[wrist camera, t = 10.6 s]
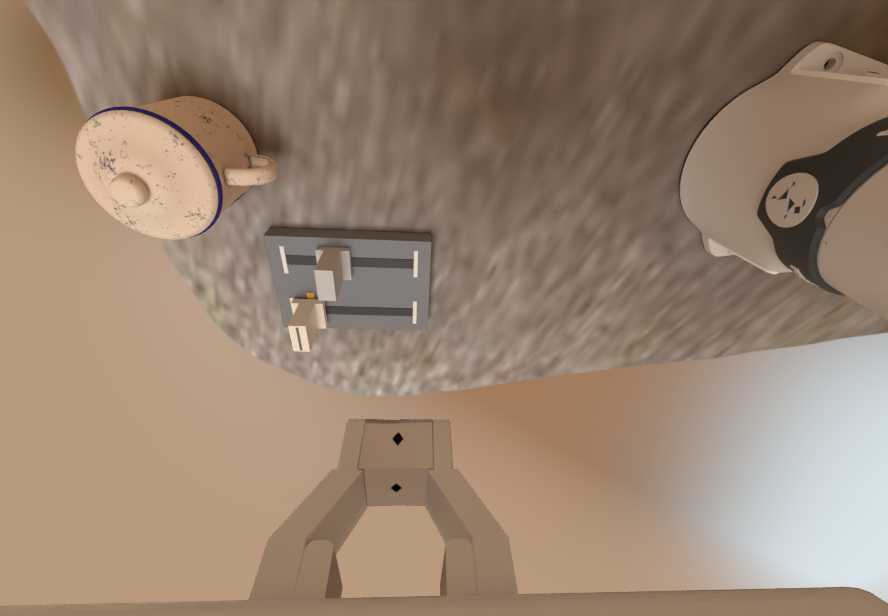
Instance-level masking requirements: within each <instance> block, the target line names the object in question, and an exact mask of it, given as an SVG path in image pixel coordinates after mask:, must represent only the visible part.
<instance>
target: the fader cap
mask: <svg viewBox="0 0 888 616" xmlns="http://www.w3.org/2000/svg"><path fill="white" fill-rule="evenodd" d="M291 305H292V310H293V317H292V319H291V321H290V323H289V325H288V328H289V332H290V337H291V341H292V346H293V351H310V350H311V347H312V345H313V342H314V339H315V337H316V334H317V331H318V329H319V328H326V327H327V324H328V322H327V315H326V308H325V301H319V300H318V299H293V300H292V302H291Z"/></svg>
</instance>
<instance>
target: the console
mask: <svg viewBox="0 0 888 616" xmlns="http://www.w3.org/2000/svg"><path fill="white" fill-rule="evenodd" d="M264 240H265V244H266V249H267V253H268V258H269V262H270V267H271V271H272V276H273V280H274V284H275V289H276V293H277V298H278V302H279V307H280V311H281V315H282V320H283V324H284V327H288V325H289V323H290V321H291V319H292V317H293V310H292V305H291V302H292V300H293V299H318V300H319V301H325V308H326V315H327V322H328V324H327V327H326V328H349V329H392V330H428V310H429V288H430V265H431V243H432V241H431V233H405V232H380V231H355V230H330V229H304V228H279V227H270V228H269V230H268V231H267V232H266V233H265V234H264Z"/></svg>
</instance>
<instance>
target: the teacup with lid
mask: <svg viewBox="0 0 888 616" xmlns="http://www.w3.org/2000/svg"><path fill="white" fill-rule="evenodd" d="M75 152H76V153H75V155H76V162H77V167H78V170H79V173H80V175H81V178H82V180H83V182H84V184H85V185H86V187H87V188H88V190H89V192H90V193H91V194H92V196H93V197H94V198H95V200H96V201H97V202H98V203H99V204H100V205H101V206H102V207H103V208H104V209H105V210H106V211H107V212H108V213H109V214H111V215H112V216H113V217H114V218H116V219H117V220H118V221H120V222H122V223H123V224H125V225H126V226H128V227H130V228H132V229H134V230H136V231H138V232H140V233H143V234H146V235H149V236H153V237H157V238H162V239H185V238H190V237H194V236H197V235H199V234H202V233H203V232H205V231H207V230H208V229H209V228H210V227H211V226H212V225H213V224H214V223H215V222H216V220H217V219H218V217H219V215H220V214H221V213H222V212H224V211H225V210H226V209H227V208H228V207H230V206H231V205H232V204H233V203H234V202H235V201H237V200H238V199H239V198H240V197H241V196H242V195H244V194H245V193H246V192H247V191H248V190H249V189H250V188H251V187H252V186H256V185H263V184H267V183H270V182H272V181H274V180H275V179H276V178H277V177H278V175H279V169H278V165H277V163H276V161H274V160H273V159H272V158H269V157H266V156H262V155H257V151H256V148H255V145H254V142H253V140H252V138H251V136H250V134H249V133H248V131H247V130H246V128H245V127H244V126H243V124H242V123H241V122H240V121H239V120H238V119H237V118H236V117H235V116H234V115H233V114H232V113H230V112H229V111H228V110H226V109H225V108H224V107H222V106H220V105H219V104H217V103H215V102H213V101H210V100H207V99H204V98H200V97H195V96H181V97H176V98H172V99H167V100H163V101H159V102H155V103H150V104H146V105H142V106H137V107H113V108H108V109H105V110H102V111H100V112H98V113H96V114H95V115H93V116H92V117H90V119H89V120H88V121H87V122H86V123H85V124H84V126H83V127H82V129H81V130H80V132H79V134H78V137H77V141H76V150H75Z"/></svg>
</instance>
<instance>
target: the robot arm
mask: <svg viewBox="0 0 888 616" xmlns="http://www.w3.org/2000/svg"><path fill="white" fill-rule="evenodd" d="M827 60H828V63H827V65H826V66H825V68H824V65H825V63H826V62H827ZM680 198H681V204H682V207H683V210H684V212H685V214H686V216H687V217H688V219H689V220H690V221H691V222H692V223H693V224H694V225H695V226H696V227H697V228H698V229H699V230H700V232H701V234H702V240H703V244H704V248H705V250H706V251H707V252H708V253H710V254H712V255H714V256H717V257H719V256H728V255H737V256H738V257H740V258H742V259H744V260H746V261H747V262H749V263H751V264H753V265H754V266H756V267H758V268H760V269H762V270H764V271H765V272H768V273H771V274H778V273H779V272H794V273H796V274H797V275H798V276H799V277H800V278H802V279H803V280H805V281H807V282H808V283H810V284H812V285H815V286H817V287H821V288H822V289H824V290H826V291H828V292H831V293H834V294H838V295H845V296H848V297H849V298H851V299H853V300H854V301H856V302H858V303H859V304H861V305H862V306H864V307H866V308H867V309H869V310H871V311H872V312H874V313H876V314H877V315H879V316H880V317H882V318H884V319H885V320H887V321H888V65H887V64H884V63H881V62H879V61H876V60H874V59H871V58H868V57H866V56H863V55H861V54H858V53H855V52H853V51H850V50H848V49H845V48H843V47H840V46H837V45H835V44H832V43H827V42H821V41H818V42H814V43H811V44H810V45H808V46H807V47H805V48H804V49H803V50H801V51H800V52H799V53H798V54H797V55H796V56H795V57H793V58H792V59H791V60H790V61H789V62H788V63H787V64H786V65H785V66H784V67H783V68H782V69H781V70H780V71H779V72H778V73H777V74H775V75H774V76H772V77H771V78H769V79H767V80H766V81H764V82H762V83H760V84H758V85H756V86H755V87H753V88H751V89H749V90H748V91H746V92H744V93H743V94H741V95H740V96H738V97H737V98H736V99H734V100H733V101H732V102H730V103H729V104H728V105H727V106H726V107H725V108H723V109H722V110H721V111H720V112H719V113H718V114H717V115H716V116H715V117H714V118H713V119H712V121H711V122H710V123H709V124H708V125H707V126H706V128H705V129H704V130H703V132H702V133H701V134H700V136H699V137H698V139H697V140H696V142H695V144H694V145H693V147H692V149H691V151H690V153H689V155H688V158H687V160H686V163H685V165H684V168H683V172H682V176H681V182H680ZM450 429H451V428H450V422H449V420H432V419H406V420H403V419H401V420H378V419H349V420H348V422H347V425H346V430H345V435H344V440H343V444H342V449H341V454H340V459H339V463H338V468H337V470H331V471H330V472H329V474H328V475H327V476H326V477H325V478H324V479H323V480H322V481H321V482H320V483H319V485H318V486H317V487H316V488H315V489H314V490H313V491H312V492H311V493H310V494H309V495H308V497H306V499H305V500H304V501H303V502H302V503H301V504H300V505H299V506H298V507H297V509H295V511H294V512H293V513H292V514H291V515H290V516H289V517H288V518H287V519H286V520H285V521H284V523H283V524H282V525H281V526H280V527H279V528H278V529H277V530H276V531H275V532H274V533H273V535H272V536H271V537H270V538H269V539H268V541H267V545H266V548H265V551H264V554H263V557H262V560H261V563H260V566H259V570H258V573H257V576H256V579H255V582H254V585H253V588H252V591H251V594H250V597H249V600H242V601H241V600H238V601H194V602H154V603H153V602H149V603H108V604H107V603H106V604H64V605H62V604H61V605H20V606H19V605H18V606H0V616H888V603H886V602H884V601H883V600H881V599H880V598H878V597H877V596H875V595H874V594H872V593H870V592H868V591H865V590H862V589H859V588H851V587H826V588H824V587H823V588H781V589H780V588H778V589H734V590H689V591H688V590H687V591H647V592H646V591H645V592H644V591H643V592H602V593H601V592H599V593H551V594H518V591H517V585H516V580H515V574H514V567H513V562H512V556H511V550H510V544H509V538H508V536H507V535H506V533H505V532H504V530H503V529H502V528H501V526H500V525H499V524H498V522H497V521H496V520H495V518H494V517H493V516H492V514H491V513H490V512H489V510H488V509H487V508H486V506H485V505H484V504H483V502H482V501H481V500H480V498H479V497H478V496H477V494H476V493H475V491H474V490H473V489H472V488H471V486H470V485H469V483H468V482H467V481H466V479H465V478H464V477H463V476H462V474H461V473H460V471H459V470H455V469H453V459H452V444H451V430H450ZM390 505H406V506H408V505H409V506H410V505H411V506H426V509H427V511H428V513H429V514H430V516H431V518H432V520H433V522H434V524H435V525H436V527H437V529H438V531H439V533H440V535H441V536H442V538H443V540H444V542H445V544H446V546H445V553H444V560H443V567H442V574H441V581H440V596H416V597H371V598H341V594H342V582H341V578H340V573H339V568H338V563H337V559H336V553H337V552H338V551H339V549H340V548H341V546H342V545H343V543H344V542H345V540H346V539H347V537H348V535H349V534H350V533H351V531H352V530H353V528H354V527H355V525H356V524H357V522H358V521H359V519H360V518H361V516H362V515H363V514H364V512H365V511H366V509H367V506H390Z"/></svg>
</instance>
